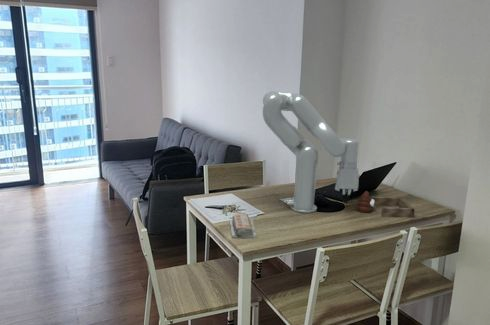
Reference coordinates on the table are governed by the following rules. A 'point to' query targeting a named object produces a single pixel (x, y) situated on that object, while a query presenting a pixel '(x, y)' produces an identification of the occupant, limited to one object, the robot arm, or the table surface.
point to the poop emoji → (365, 203)
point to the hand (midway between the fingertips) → (345, 201)
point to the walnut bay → (403, 211)
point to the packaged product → (242, 226)
